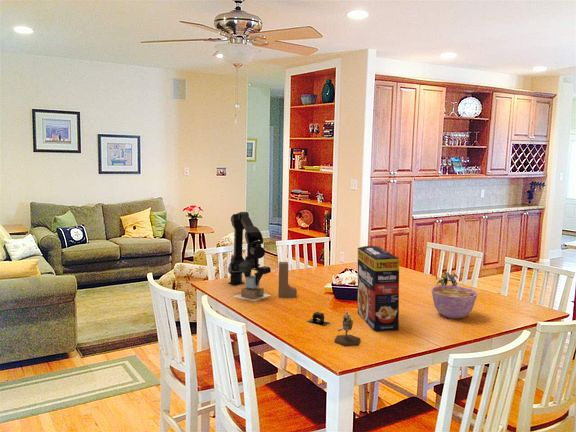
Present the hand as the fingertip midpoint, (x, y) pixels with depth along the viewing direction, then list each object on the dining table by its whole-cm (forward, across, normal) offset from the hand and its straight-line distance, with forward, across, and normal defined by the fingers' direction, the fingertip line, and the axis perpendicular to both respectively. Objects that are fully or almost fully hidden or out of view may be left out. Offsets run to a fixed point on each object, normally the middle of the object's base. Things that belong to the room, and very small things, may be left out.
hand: (252, 284), depth 252 cm
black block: (+7, +46, -13) cm, 49 cm away
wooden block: (+7, +14, +11) cm, 19 cm away
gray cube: (+1, 0, 0) cm, 1 cm away
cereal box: (+7, +66, +4) cm, 67 cm away
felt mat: (+6, -1, +1) cm, 7 cm away
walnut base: (+6, 0, 0) cm, 6 cm away
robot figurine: (+7, +67, -25) cm, 72 cm away
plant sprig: (+7, +74, +81) cm, 110 cm away
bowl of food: (+7, +91, +33) cm, 97 cm away
